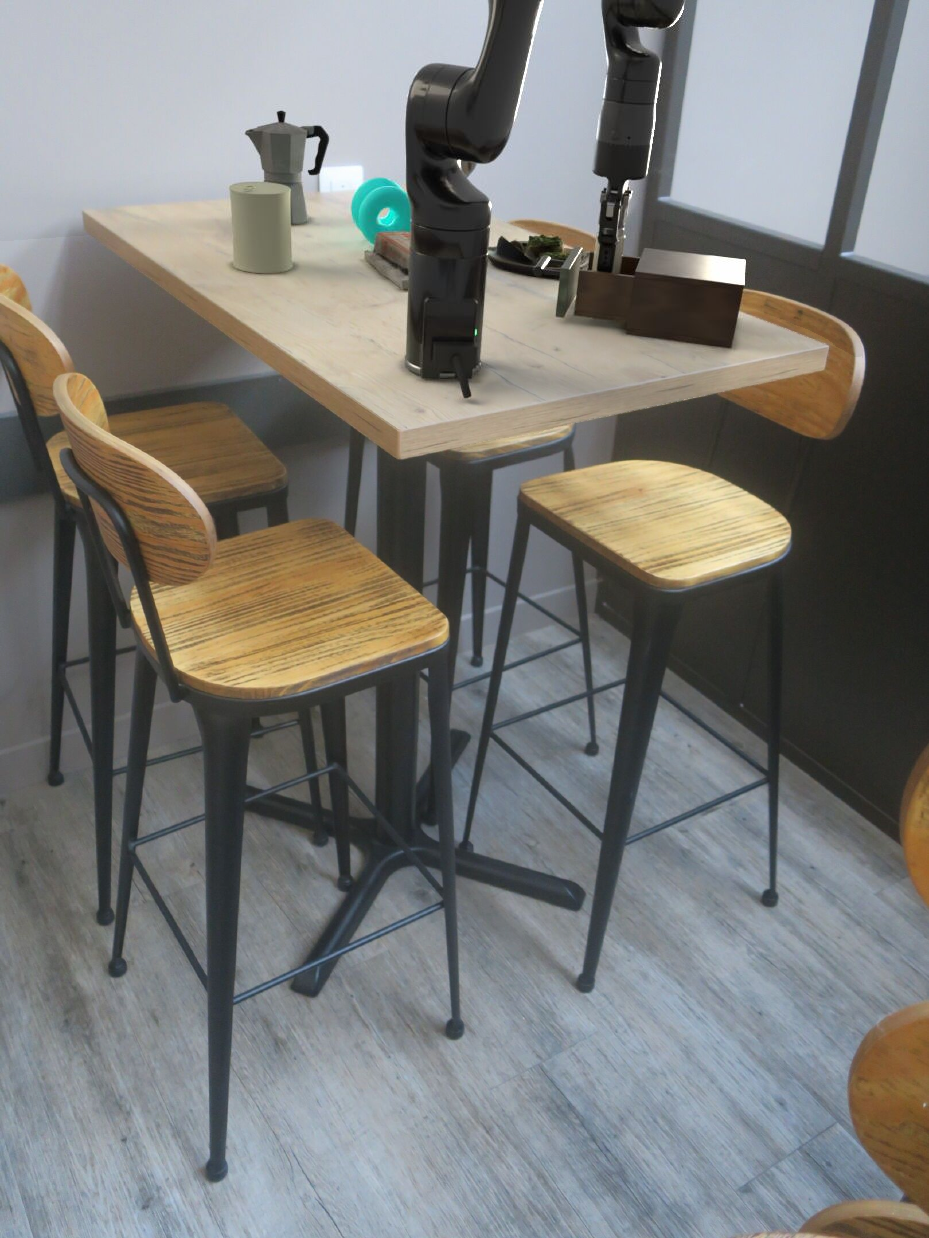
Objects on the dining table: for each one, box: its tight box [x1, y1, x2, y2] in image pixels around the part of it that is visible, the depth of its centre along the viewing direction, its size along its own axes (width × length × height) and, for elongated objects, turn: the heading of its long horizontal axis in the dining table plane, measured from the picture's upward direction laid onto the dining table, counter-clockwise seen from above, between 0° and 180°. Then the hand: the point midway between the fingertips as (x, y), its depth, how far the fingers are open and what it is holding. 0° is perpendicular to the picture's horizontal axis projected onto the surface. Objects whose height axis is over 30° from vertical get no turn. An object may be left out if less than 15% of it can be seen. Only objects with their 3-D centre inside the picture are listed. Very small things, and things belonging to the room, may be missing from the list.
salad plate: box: [488, 233, 590, 279], centre depth 175 cm, size 19×18×5 cm
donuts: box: [350, 177, 411, 246], centre depth 178 cm, size 10×10×10 cm
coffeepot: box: [244, 110, 330, 226], centre depth 187 cm, size 15×9×18 cm, turn 118°
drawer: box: [533, 246, 641, 324], centre depth 151 cm, size 18×13×7 cm
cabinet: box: [625, 247, 746, 349], centre depth 149 cm, size 15×15×9 cm
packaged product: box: [363, 231, 410, 290], centre depth 164 cm, size 18×5×10 cm
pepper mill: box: [592, 227, 626, 274], centre depth 148 cm, size 4×4×12 cm
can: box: [228, 181, 294, 274], centre depth 160 cm, size 9×9×12 cm
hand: (606, 268), depth 149 cm, fingers closed on pepper mill, 4 cm apart
